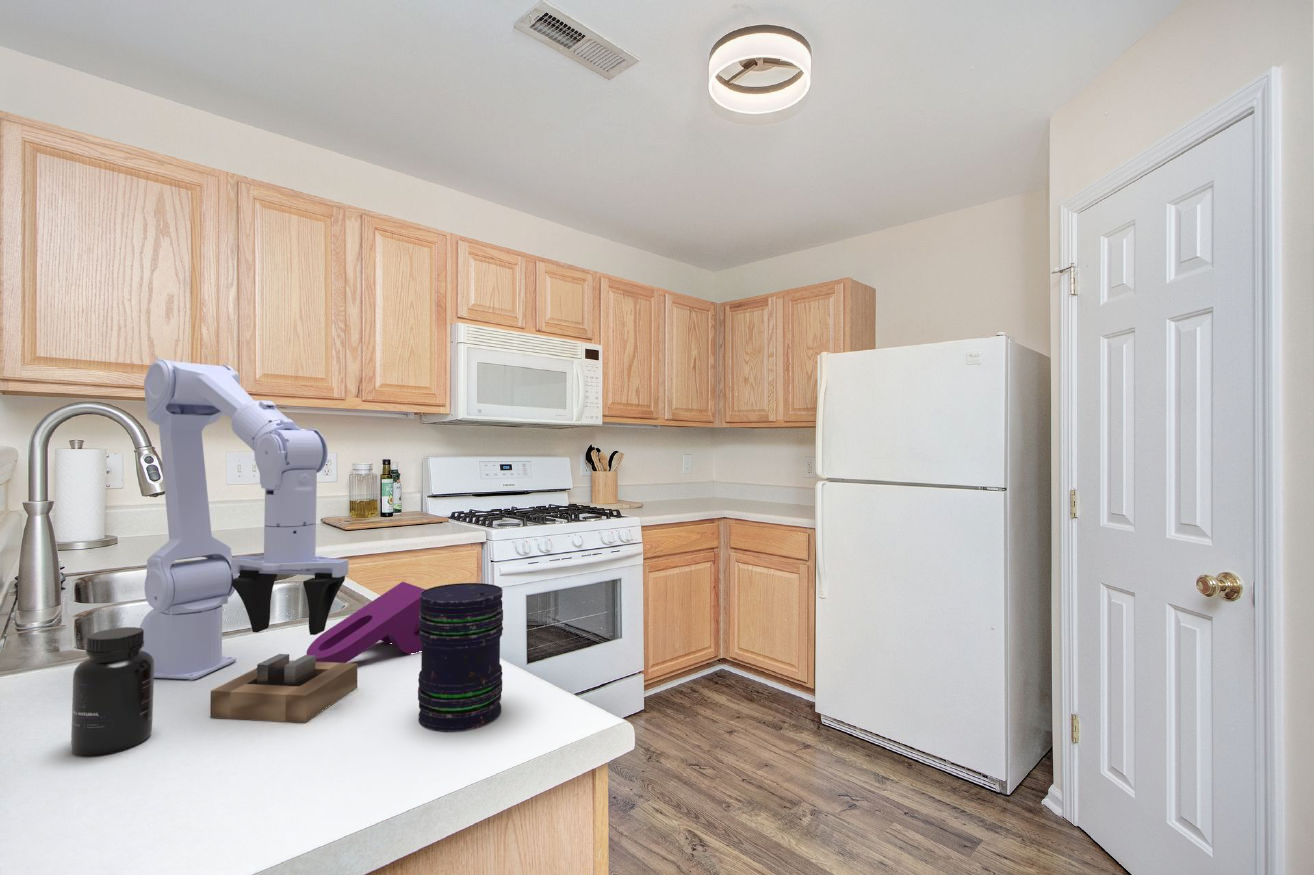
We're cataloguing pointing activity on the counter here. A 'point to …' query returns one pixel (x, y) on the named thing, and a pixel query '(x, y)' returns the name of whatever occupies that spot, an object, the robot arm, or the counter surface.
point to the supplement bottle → (112, 693)
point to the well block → (283, 695)
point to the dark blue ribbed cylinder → (460, 656)
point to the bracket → (286, 671)
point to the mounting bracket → (374, 627)
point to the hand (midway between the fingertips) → (288, 631)
